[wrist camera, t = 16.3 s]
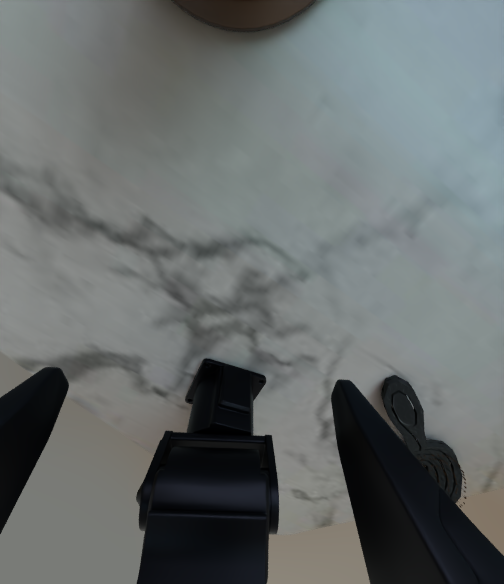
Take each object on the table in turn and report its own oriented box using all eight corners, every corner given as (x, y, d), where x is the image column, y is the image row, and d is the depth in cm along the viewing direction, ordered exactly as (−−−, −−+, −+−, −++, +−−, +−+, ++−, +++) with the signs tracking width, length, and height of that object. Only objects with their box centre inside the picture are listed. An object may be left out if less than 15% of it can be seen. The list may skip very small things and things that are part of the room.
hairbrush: (452, 386, 24) (480, 514, 35) (429, 356, 27) (461, 482, 38) (357, 412, 26) (411, 525, 37) (346, 382, 29) (399, 494, 40)
